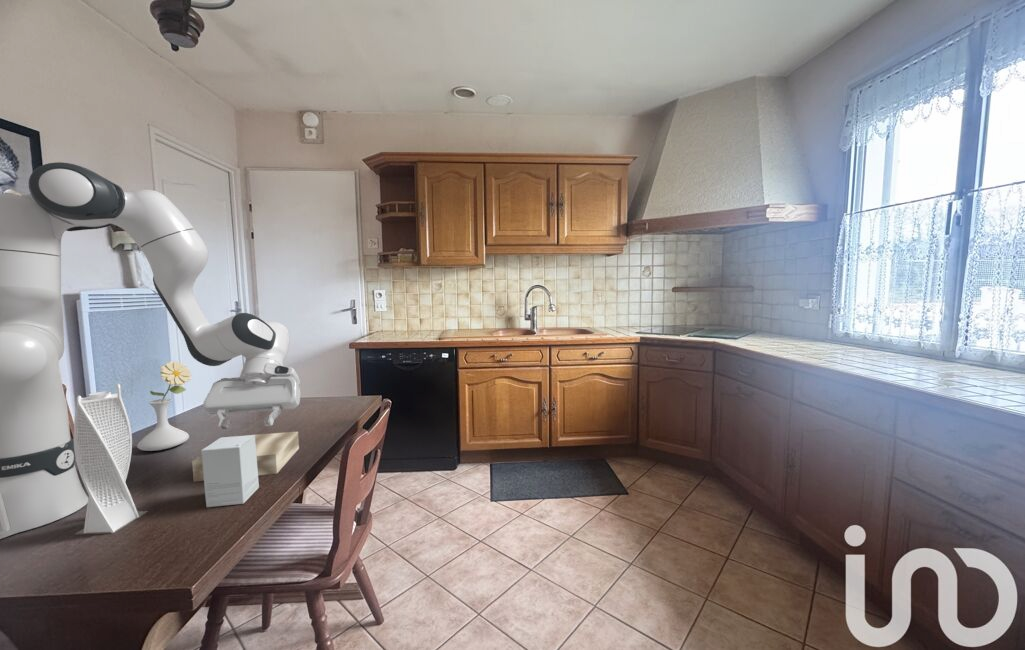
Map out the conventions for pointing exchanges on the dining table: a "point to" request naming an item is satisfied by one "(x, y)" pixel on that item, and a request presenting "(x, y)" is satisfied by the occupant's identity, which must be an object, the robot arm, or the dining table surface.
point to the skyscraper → (104, 461)
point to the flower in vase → (164, 432)
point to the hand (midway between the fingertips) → (245, 426)
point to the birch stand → (264, 453)
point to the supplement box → (230, 470)
